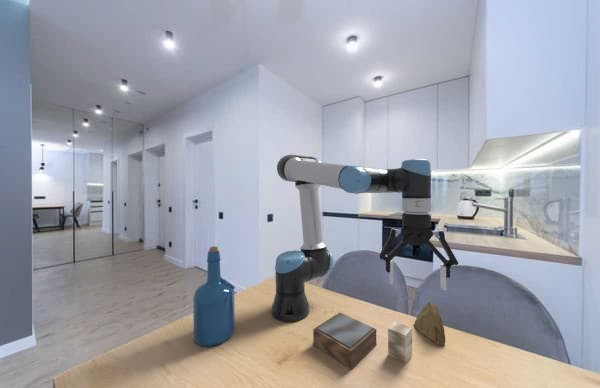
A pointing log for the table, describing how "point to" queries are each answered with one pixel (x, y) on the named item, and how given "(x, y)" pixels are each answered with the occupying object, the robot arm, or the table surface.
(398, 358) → the beech block
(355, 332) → the walnut plinth
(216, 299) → the wine bottle
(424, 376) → the table surface
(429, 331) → the rock
